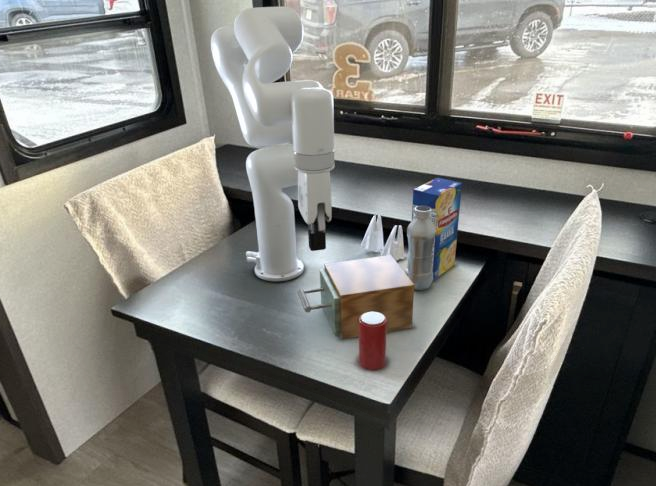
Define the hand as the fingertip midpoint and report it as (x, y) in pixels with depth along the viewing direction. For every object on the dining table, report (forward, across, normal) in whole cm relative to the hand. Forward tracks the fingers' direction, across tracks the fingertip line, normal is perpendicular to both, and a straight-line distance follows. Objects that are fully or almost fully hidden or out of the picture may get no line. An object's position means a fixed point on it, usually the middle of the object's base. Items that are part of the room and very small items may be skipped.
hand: (317, 248), depth 112 cm
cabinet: (+18, +1, +11) cm, 21 cm away
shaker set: (+18, -28, +24) cm, 41 cm away
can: (+18, +17, +7) cm, 25 cm away
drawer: (+17, +1, +6) cm, 18 cm away
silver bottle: (+18, -9, +26) cm, 33 cm away
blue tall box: (+18, -16, +33) cm, 41 cm away
